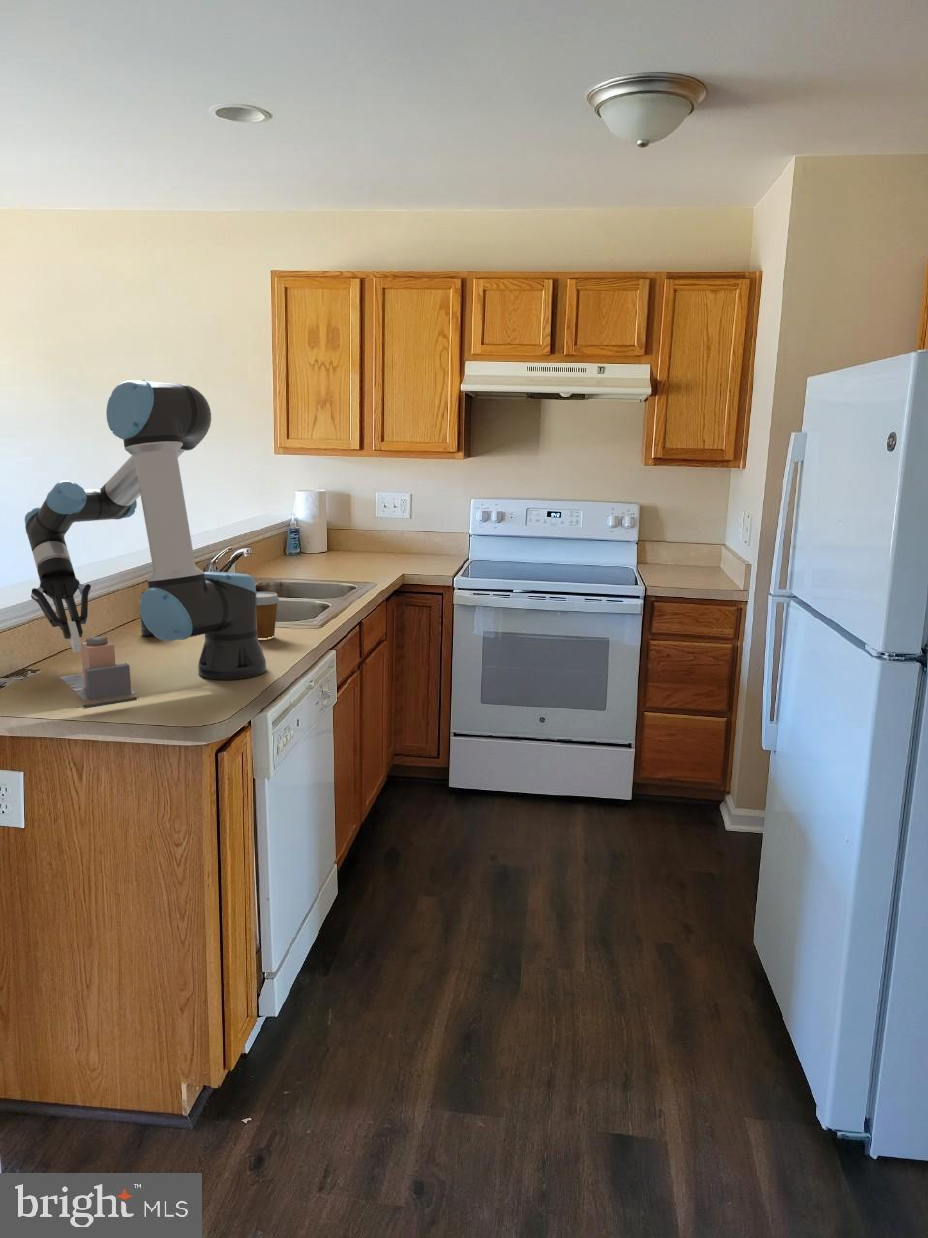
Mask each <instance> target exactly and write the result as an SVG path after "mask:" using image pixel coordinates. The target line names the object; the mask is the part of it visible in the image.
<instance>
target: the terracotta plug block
mask: <svg viewBox="0 0 928 1238" xmlns="http://www.w3.org/2000/svg"><path fill="white" fill-rule="evenodd" d="M80 652H81V662H82V674H83V678H84V685H85V686H86V675H85V669H88V668H95V667H102V666H110V665H116V656H115V655H116V653H115V644H113V643H112V642H110V641H109V640H108V637H106V636H92V637H88V638H86V641H81V651H80Z"/></svg>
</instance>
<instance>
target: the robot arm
mask: <svg viewBox="0 0 928 1238" xmlns="http://www.w3.org/2000/svg"><path fill="white" fill-rule="evenodd" d="M210 407H211V406H210V404H209V402H208V399H206V398H205V396H204V395H203V394H202V393H201V392H200V390H198V389H196V388H194V387H192V386H190V385H188V384H184V383H171V382H170V383H169V382H161V381H152V380H145V379H141V380H126V381H123V382H120V383H119V384H117V385H115V388H114V389H113V390H112V391H111V395H110V396H109V398H108V400H107V404H106V421H107V422H106V423H107V425H108V428H109V430H110V431H112V434H113V435H114V436H115V437H116V438H118V439H120V440H123V446H124V451H126V453H128V454H130V455H131V456H130V457H129V458H128V459H127V460H126V461H125V462H124V463H123V464H122V465H121V467H120V468H119V469H118V470H117V471H115V473H114V474H113V475H112V476H111V477H110V478H109V479H108V480H107V482H105V484H104V485H103V486H101V488H87V489H84V488H83V487H82V486H81V485H79V484H78V483H76V482H71V481H70V480H61V481H58V482H57V483H55V485H54V486H53V487H52V489H51V490H50V491H49V492H48V493H47V495H46V497H45V499H44V501H43V503H42V505H41V506H38V507H35V508H32V510H30V511H28V512H27V513H26V514H25V516H24V524H25V527H24V528H25V533H26V535H27V539H28V541H29V545H30V548H31V551H32V555H33V560H34V564H35V567H36V569H37V574H38V579H39V582H40V583H39V586H38V587H37V588H35V587H33V588H32V589H31V594H30V597H31V599H32V600H34V601H35V602H36V603H37V604H38V606H39V607H40V609H41V611H42V613H43V614H44V616H45V618H46V619H47V621H48V622H49V624H50V625H51V627H53V628H56V627H59V629H60V630H61V631H62V634H63V638H64V639H65V640H66V639H67V640H69V642H70V646H71V650H72V652H73V653H80V652H81V642H82V641H81V638H82V636H83V634H84V632H83V628H82V625H85V624H87V620H88V608H89V607H88V605H89V595H90V592H91V588H92V584H89V583H87V584H85V585H84V584H83V583H81V582H80V580H79V579H77V577H76V574H75V571H74V568H73V567H74V566H73V563H72V560H71V556H70V553H69V550H68V546H67V543H66V539H65V535H66V534H67V532H68V531H69V529H70V528H71V527H72V525H73V523H79V522H82V523H83V522H93V521H106V520H107V521H108V520H121V519H127V518H130V517H131V516H133V515H134V514H135V512H136V509H137V505H138V504H137V503H138V502H137V499H138V498H139V497H140V499H141V505H142V512H143V518H144V525H145V529H146V535H147V541H148V546H149V553H150V559H151V564H152V573H151V575H150V576H148V578H147V580H146V581H147V586H148V587H147V588H148V589H146V590H144V591H145V592H144V593H143V594H142V593H141V597H140V598H141V600H140V601H139V604H140V612H139V614H140V613H141V617H142V620H143V622H144V624H145V626H146V627H147V628H148V630H149V631H150V632H152V633H153V635H154V636H156V638H158V639H159V640H161V641H165V642H173V641H181V640H182V641H185V640H187V639H189V638H192V637H197V636H201V635H204V643H203V646H202V650H201V652H200V657H199V660H198V666H197V668H198V675H199V676H201V677H202V678H207V679H211V680H221V681H222V680H229V681H230V680H241V679H248V678H249V679H250V678H253V677H257V676H261V675H262V674H264V673H265V672H266V671H267V662H266V661H267V660H266V657H265V655H264V652H263V649H262V647H261V644H260V641H258V638H257V601H256V594H257V592H258V591H257V590H256V589H257V588H256V580H255V578H254V577H253V576H252V575H251V574H247V573H238V572H228V571H227V572H225V571H205V572H204V571H203V570H201V568H200V567H198V566H197V565H196V562H195V560H196V559H195V555H194V550H193V543H192V538H191V531H190V525H189V518H188V513H187V507H186V500H185V494H184V490H183V489H184V488H183V482H182V475H181V469H180V464H179V459H178V458H179V457H180V456H181V455H182V454H183V453H184V452H188V451H192V450H194V449H195V448H196V447H197V446H198V445H199V444H200V443H201V442H202V441H203V440H204V438H205V436H206V435H207V434H208V432H209V430H210V427H211V423H212V412H211V408H210ZM78 590H79V594H80V595H81V597H80V615H79V612H78V608H77V605H76V601H75V597H74V596H75V594H76V592H77V591H78ZM44 594H45V595H46V596H47V597H49V598H50V599H52V602H53V605H54V607H55V611H56V613H55V611H54V609H53V606H51V604H50V602H49V601H48V599H47V598H46V596H45V595H44ZM63 600H64V601H65V604H66V606H67V610H68V612H69V617H70V620H71V621H68V617H67V614H66V609H65V605H64V603H63Z"/></svg>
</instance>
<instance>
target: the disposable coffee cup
mask: <svg viewBox="0 0 928 1238" xmlns="http://www.w3.org/2000/svg"><path fill="white" fill-rule="evenodd" d="M256 592H257V594H256V601H257V638H268V637H272V636H274V637H275V633H276V632H275V631H276V621H277V611H278V603H279V600H280V598H279V597H278V593H277V592H272V591H256Z"/></svg>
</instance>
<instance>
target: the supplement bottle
mask: <svg viewBox="0 0 928 1238" xmlns="http://www.w3.org/2000/svg"><path fill="white" fill-rule="evenodd" d="M145 591H146V590H144V591H142V592H141V595H142V594H143V593H144V592H145ZM138 604H139V605H138V607H139V608H138V611H139V612H138V613H139V622H140V633H141V635H142V636H143V637H146V638H147V637H148V638H154V637H156V636H154V635H153V633H152V632H150V631H149V630H148V628H147V627H146V626H145V624H144V622H143V620H142V617H141V613H140V603H138ZM156 638H157V637H156Z"/></svg>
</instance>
